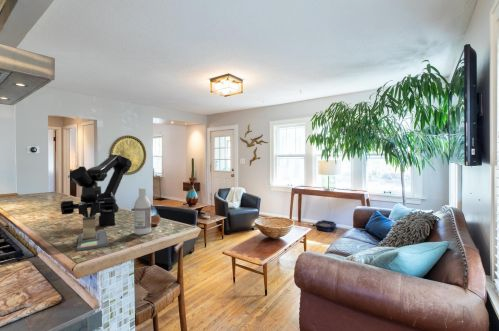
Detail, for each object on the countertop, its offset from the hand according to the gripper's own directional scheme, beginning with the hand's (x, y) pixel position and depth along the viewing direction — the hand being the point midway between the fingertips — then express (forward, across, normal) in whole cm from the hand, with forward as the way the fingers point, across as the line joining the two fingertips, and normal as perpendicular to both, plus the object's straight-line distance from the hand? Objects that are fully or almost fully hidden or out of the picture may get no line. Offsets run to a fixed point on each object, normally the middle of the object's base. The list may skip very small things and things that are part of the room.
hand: (88, 223), depth 98 cm
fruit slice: (-3, +26, +13) cm, 29 cm away
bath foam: (+4, +20, +6) cm, 21 cm away
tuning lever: (+6, 0, +2) cm, 6 cm away
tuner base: (+5, +1, +5) cm, 7 cm away
